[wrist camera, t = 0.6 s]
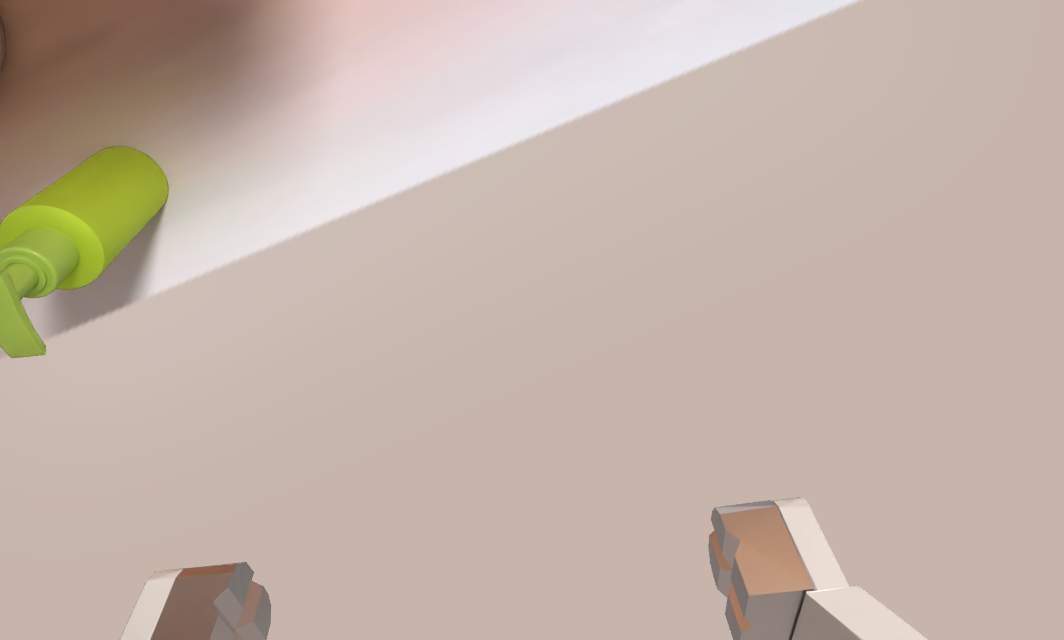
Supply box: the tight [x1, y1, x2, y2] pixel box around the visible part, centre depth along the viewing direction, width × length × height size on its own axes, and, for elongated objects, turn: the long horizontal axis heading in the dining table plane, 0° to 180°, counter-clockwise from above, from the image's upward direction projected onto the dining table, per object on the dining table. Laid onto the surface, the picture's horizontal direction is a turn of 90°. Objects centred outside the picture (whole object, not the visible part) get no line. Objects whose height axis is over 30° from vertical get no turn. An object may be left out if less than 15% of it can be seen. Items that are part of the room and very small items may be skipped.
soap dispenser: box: [0, 147, 168, 358], centre depth 44 cm, size 6×7×20 cm
